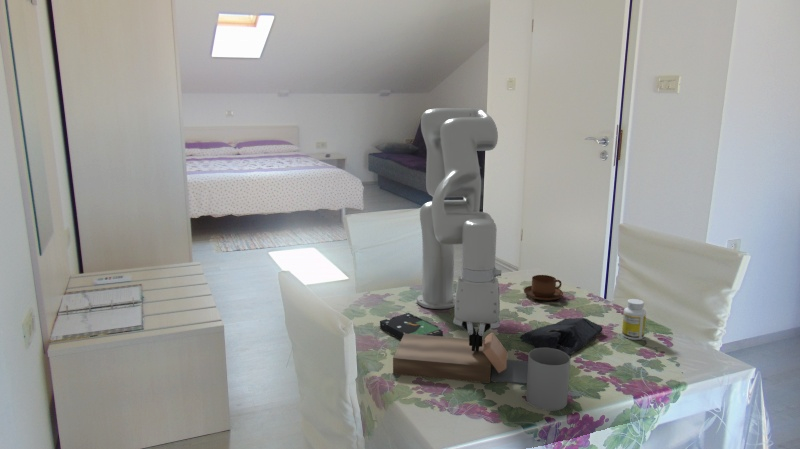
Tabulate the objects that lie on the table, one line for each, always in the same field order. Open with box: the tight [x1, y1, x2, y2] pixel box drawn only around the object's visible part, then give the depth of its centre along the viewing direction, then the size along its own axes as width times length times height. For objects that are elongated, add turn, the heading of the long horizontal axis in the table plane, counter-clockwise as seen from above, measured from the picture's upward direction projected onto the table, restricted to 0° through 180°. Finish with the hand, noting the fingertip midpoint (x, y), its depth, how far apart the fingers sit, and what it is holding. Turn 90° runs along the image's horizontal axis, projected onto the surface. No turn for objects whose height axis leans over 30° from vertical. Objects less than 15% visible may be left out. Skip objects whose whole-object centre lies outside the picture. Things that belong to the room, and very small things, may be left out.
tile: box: [483, 332, 508, 373], centre depth 135 cm, size 9×6×2 cm
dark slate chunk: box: [519, 317, 603, 357], centre depth 154 cm, size 15×22×5 cm
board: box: [392, 333, 492, 384], centre depth 138 cm, size 14×22×4 cm, turn 79°
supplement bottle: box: [621, 298, 647, 341], centre depth 154 cm, size 5×5×10 cm
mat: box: [490, 359, 528, 385], centre depth 135 cm, size 11×12×1 cm
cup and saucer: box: [523, 274, 564, 302], centre depth 184 cm, size 12×12×6 cm
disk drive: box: [379, 312, 444, 341], centre depth 157 cm, size 10×3×15 cm
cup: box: [525, 348, 571, 412], centre depth 122 cm, size 8×8×10 cm
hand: (475, 348), depth 136 cm, fingers closed
